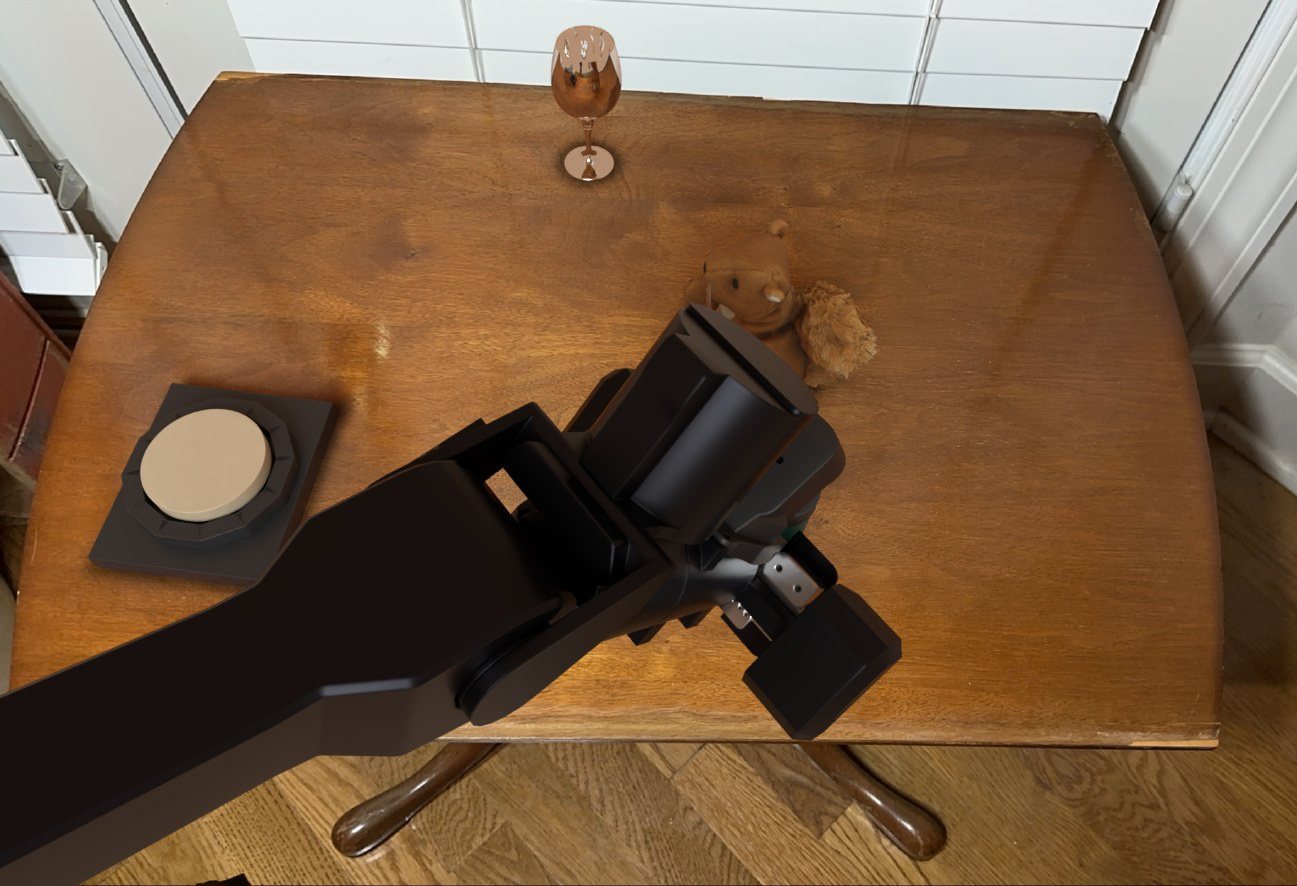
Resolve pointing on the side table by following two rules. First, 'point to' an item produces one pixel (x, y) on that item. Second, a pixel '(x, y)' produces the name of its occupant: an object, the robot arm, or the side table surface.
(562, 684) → the side table surface
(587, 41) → the wineglass
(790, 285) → the stuffed squirrel
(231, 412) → the pad disc
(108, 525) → the button base
